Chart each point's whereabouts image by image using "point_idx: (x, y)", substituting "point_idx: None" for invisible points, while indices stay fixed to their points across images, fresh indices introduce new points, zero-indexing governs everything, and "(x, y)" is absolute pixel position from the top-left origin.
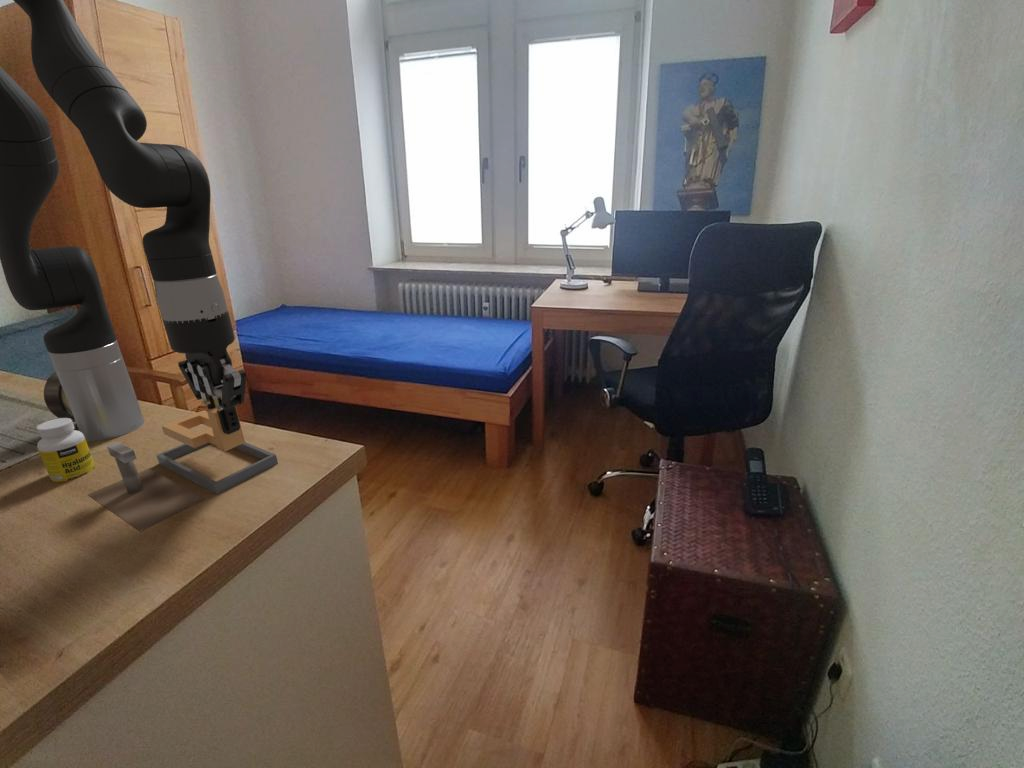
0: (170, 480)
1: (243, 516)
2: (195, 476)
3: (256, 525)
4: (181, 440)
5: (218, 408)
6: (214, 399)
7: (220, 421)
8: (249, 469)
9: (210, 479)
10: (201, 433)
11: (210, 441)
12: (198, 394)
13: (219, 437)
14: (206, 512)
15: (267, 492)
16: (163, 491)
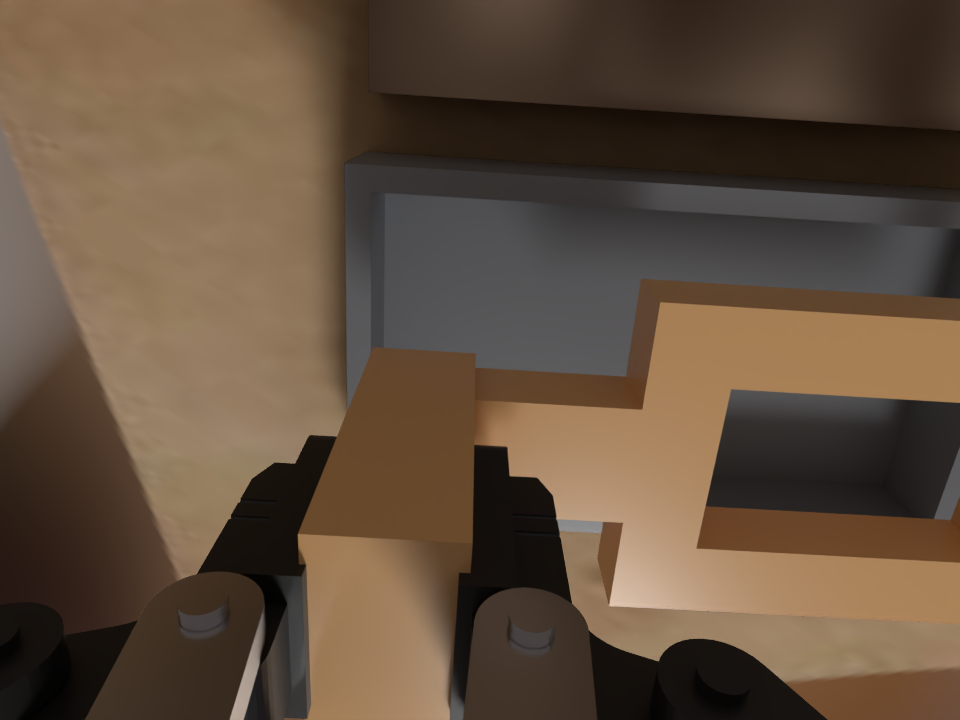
0: (761, 114)
1: (142, 134)
2: (571, 176)
3: (12, 117)
4: (837, 296)
5: (180, 595)
6: (205, 699)
7: (312, 495)
8: (349, 368)
9: (427, 190)
10: (676, 394)
11: (590, 380)
12: (674, 713)
13: (382, 393)
14: (344, 62)
15: (245, 323)
16: (681, 15)
